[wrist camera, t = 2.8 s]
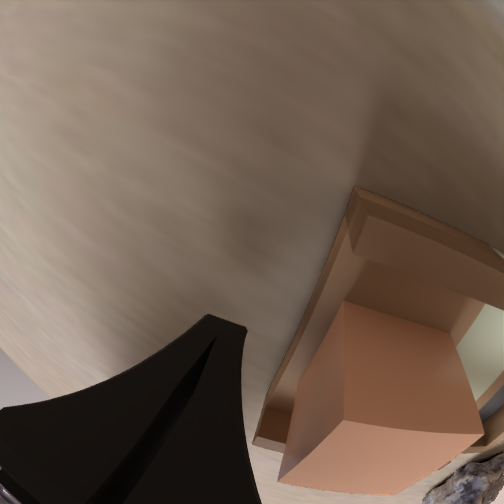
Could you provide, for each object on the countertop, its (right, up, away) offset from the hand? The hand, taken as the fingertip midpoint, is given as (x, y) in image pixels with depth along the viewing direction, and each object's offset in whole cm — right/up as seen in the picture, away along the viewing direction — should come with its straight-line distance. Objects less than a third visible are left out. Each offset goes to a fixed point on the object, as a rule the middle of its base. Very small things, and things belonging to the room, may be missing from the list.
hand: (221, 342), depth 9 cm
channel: (+10, -2, +1) cm, 10 cm away
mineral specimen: (+21, -19, +6) cm, 29 cm away
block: (+6, -1, 0) cm, 6 cm away
